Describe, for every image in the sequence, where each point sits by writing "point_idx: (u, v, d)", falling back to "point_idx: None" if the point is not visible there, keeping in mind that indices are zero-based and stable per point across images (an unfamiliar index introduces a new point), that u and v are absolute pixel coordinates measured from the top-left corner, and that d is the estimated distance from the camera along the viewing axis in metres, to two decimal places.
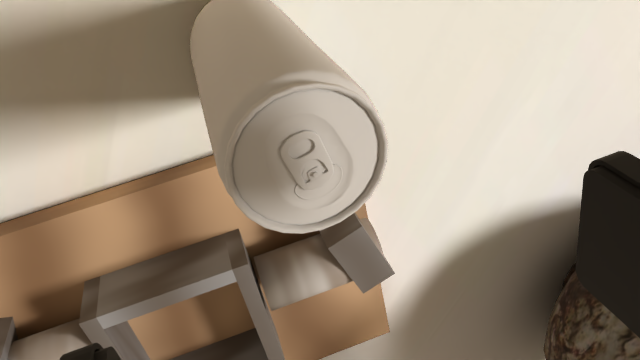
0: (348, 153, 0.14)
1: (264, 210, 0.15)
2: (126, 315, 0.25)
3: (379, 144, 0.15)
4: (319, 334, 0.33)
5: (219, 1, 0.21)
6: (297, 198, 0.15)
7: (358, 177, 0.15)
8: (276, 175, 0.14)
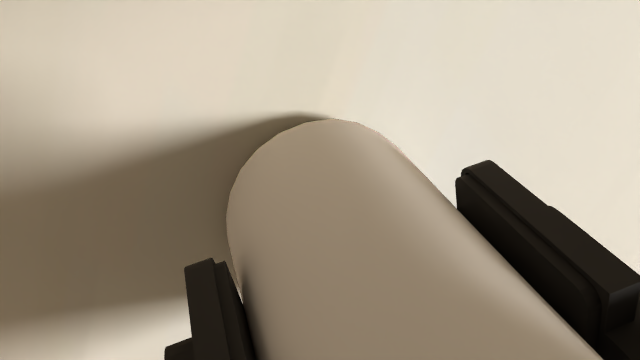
0: None
1: None
2: None
3: None
4: None
5: (291, 152, 0.11)
6: None
7: None
8: None
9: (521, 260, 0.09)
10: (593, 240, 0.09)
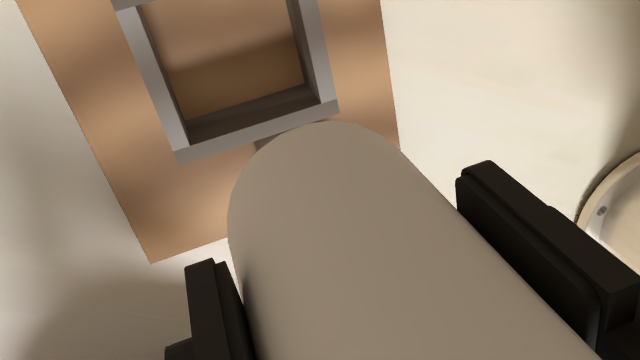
0: None
1: None
2: None
3: None
4: (159, 188, 0.28)
5: (292, 154, 0.10)
6: None
7: None
8: None
9: (521, 260, 0.09)
10: (593, 240, 0.09)
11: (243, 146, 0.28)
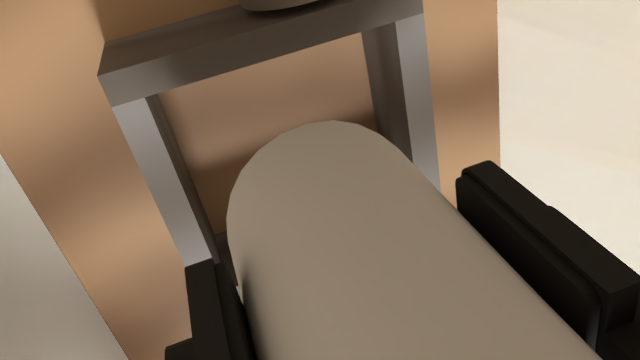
0: None
1: None
2: (412, 62, 0.14)
3: None
4: (176, 321, 0.20)
5: (292, 154, 0.10)
6: None
7: None
8: None
9: (521, 260, 0.09)
10: (593, 240, 0.09)
11: None
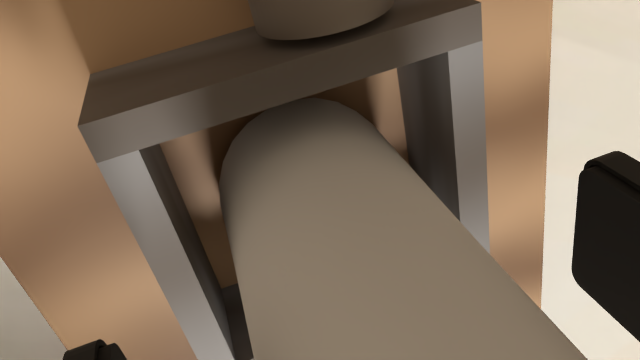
0: None
1: None
2: (465, 99, 0.12)
3: None
4: None
5: (276, 125, 0.12)
6: None
7: None
8: None
9: None
10: None
11: None
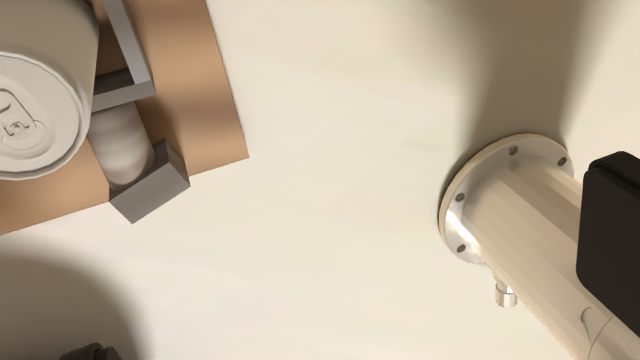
0: (45, 112, 0.17)
1: None
2: None
3: (77, 105, 0.18)
4: None
5: None
6: (6, 149, 0.18)
7: (62, 133, 0.18)
8: None
9: None
10: None
11: None
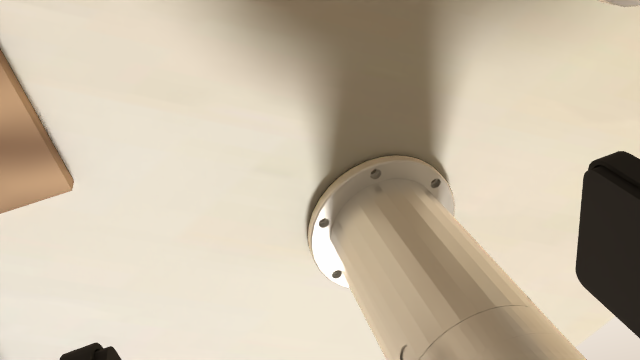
0: None
1: None
2: None
3: None
4: None
5: None
6: None
7: None
8: None
9: None
10: None
11: None
